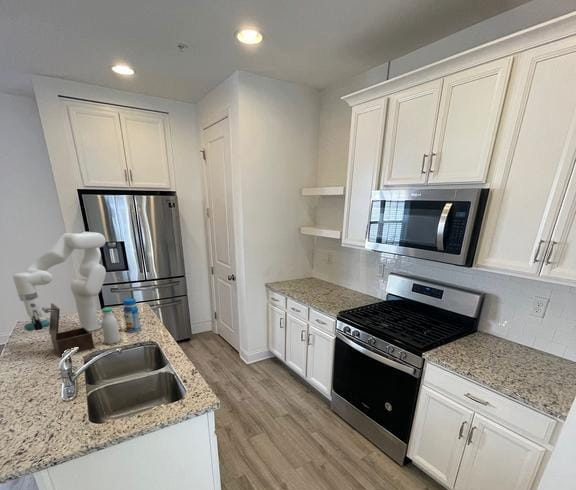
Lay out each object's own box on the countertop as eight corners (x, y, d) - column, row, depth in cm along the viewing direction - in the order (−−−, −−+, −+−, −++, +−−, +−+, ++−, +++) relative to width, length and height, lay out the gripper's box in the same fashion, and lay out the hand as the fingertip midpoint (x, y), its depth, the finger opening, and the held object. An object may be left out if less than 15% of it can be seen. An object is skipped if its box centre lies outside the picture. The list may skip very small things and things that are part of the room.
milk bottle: (122, 341, 178) (117, 308, 171) (107, 345, 172) (101, 311, 166) (117, 337, 183) (111, 305, 176) (103, 341, 177) (96, 308, 171)
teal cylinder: (49, 325, 174) (47, 318, 173) (51, 326, 172) (49, 320, 170) (24, 330, 166) (22, 323, 165) (26, 332, 164) (24, 325, 162)
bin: (86, 341, 177) (83, 327, 174) (94, 348, 169) (91, 333, 166) (54, 349, 166) (50, 334, 163) (60, 357, 158) (56, 341, 155)
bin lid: (52, 303, 160) (40, 302, 156) (59, 308, 152) (46, 308, 148) (51, 333, 163) (38, 334, 159) (57, 340, 155) (44, 341, 151)
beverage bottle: (142, 330, 194) (138, 300, 187) (127, 333, 190) (122, 302, 183) (139, 326, 201) (135, 296, 194) (125, 328, 196) (120, 298, 189)
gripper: (41, 298, 160) (50, 330, 166) (33, 291, 170) (42, 322, 177) (22, 301, 154) (33, 334, 161) (16, 294, 165) (26, 326, 171)
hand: (38, 328), depth 169 cm, fingers closed on teal cylinder, 4 cm apart
